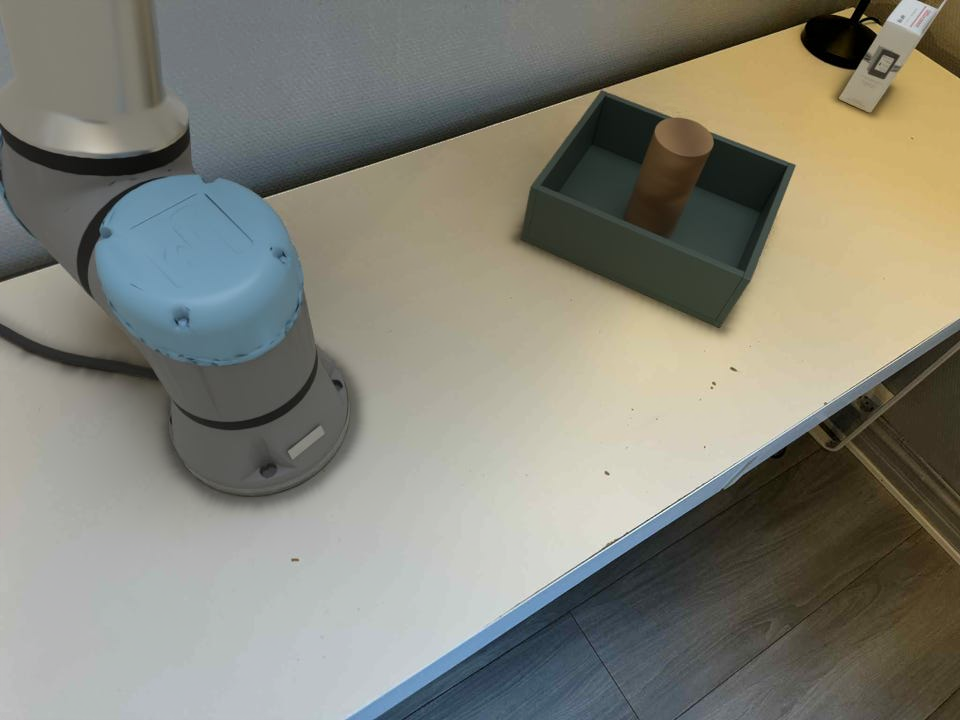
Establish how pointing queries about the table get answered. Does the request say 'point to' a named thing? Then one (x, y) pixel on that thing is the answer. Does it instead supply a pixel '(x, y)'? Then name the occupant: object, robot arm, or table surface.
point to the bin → (640, 253)
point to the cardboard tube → (668, 175)
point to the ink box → (888, 53)
